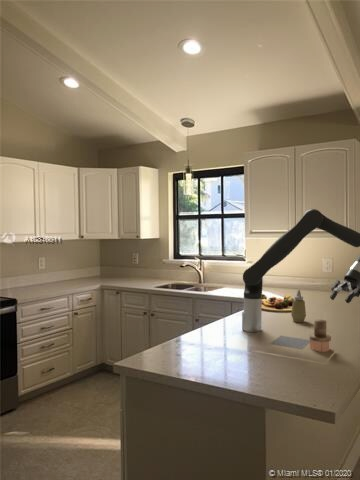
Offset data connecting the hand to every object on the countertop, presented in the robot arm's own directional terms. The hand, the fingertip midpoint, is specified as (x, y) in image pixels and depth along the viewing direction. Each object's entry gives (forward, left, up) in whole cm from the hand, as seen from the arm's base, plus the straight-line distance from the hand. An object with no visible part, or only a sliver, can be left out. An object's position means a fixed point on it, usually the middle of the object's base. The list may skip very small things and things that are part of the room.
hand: (339, 300), depth 183 cm
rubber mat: (-20, -7, -21) cm, 30 cm away
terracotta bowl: (-6, -10, -21) cm, 24 cm away
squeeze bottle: (-29, +37, -21) cm, 51 cm away
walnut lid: (-6, -10, -16) cm, 20 cm away
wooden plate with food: (-52, +68, -22) cm, 88 cm away
